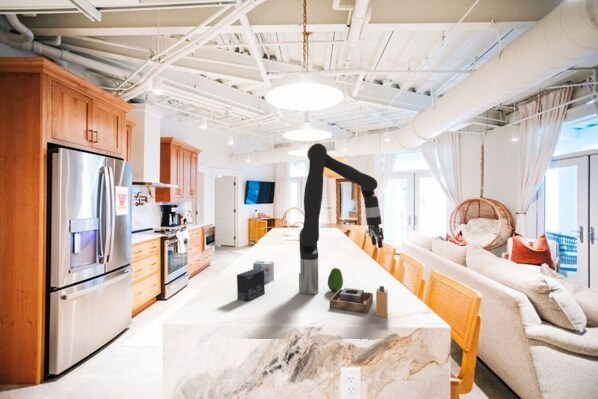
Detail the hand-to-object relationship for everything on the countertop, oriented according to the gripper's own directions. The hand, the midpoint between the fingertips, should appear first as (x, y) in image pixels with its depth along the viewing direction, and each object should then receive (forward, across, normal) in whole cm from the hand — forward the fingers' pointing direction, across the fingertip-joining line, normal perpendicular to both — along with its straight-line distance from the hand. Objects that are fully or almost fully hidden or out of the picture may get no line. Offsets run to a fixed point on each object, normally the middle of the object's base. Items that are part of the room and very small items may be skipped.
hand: (377, 246), depth 153 cm
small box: (+14, +3, -68) cm, 69 cm away
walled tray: (+20, +19, -22) cm, 35 cm away
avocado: (+19, 0, -25) cm, 32 cm away
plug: (+21, +32, -14) cm, 41 cm away
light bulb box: (+14, -24, -62) cm, 68 cm away
